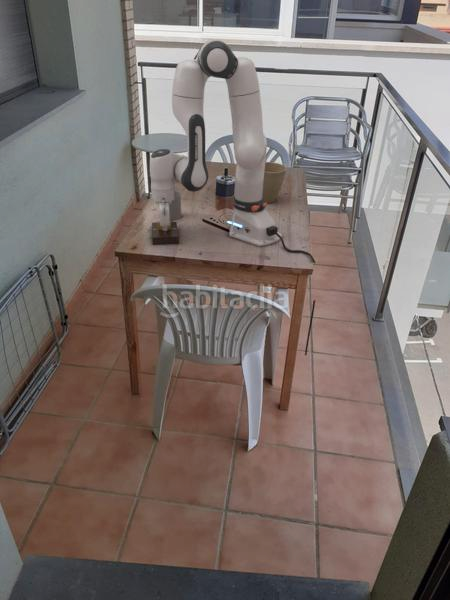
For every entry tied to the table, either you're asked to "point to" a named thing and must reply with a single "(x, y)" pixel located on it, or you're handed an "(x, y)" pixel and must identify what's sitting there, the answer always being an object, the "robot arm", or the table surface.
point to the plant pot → (272, 180)
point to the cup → (175, 207)
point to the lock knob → (162, 227)
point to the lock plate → (165, 234)
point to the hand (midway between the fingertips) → (164, 227)
